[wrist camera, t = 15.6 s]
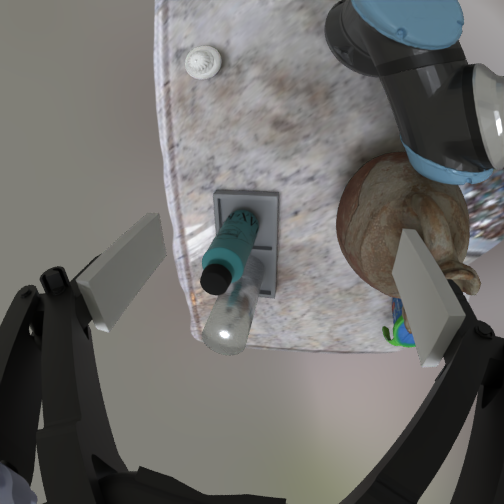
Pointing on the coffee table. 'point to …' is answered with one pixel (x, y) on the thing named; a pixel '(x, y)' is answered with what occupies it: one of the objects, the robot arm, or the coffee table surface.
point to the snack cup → (398, 327)
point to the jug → (402, 223)
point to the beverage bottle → (229, 252)
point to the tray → (267, 236)
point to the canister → (235, 311)
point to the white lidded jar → (203, 62)
